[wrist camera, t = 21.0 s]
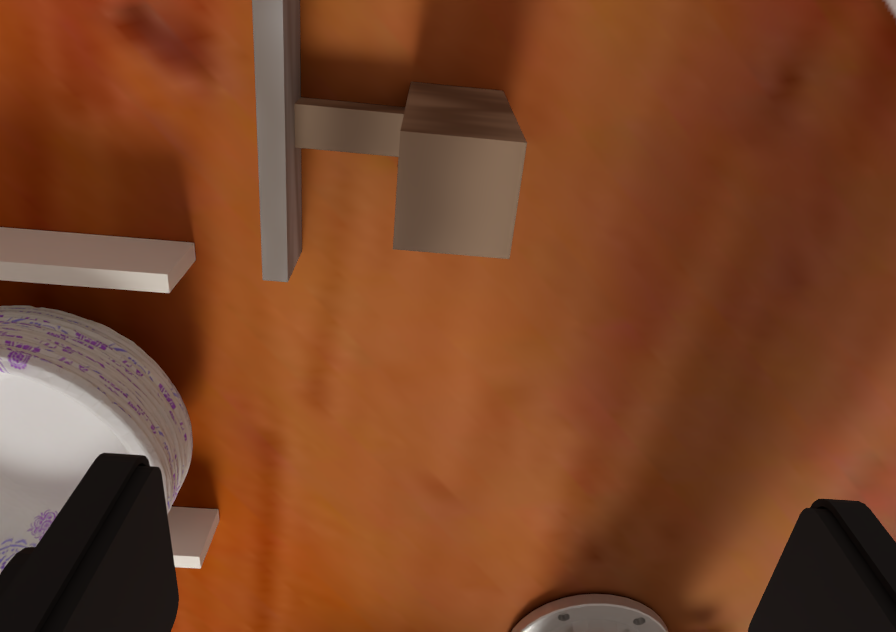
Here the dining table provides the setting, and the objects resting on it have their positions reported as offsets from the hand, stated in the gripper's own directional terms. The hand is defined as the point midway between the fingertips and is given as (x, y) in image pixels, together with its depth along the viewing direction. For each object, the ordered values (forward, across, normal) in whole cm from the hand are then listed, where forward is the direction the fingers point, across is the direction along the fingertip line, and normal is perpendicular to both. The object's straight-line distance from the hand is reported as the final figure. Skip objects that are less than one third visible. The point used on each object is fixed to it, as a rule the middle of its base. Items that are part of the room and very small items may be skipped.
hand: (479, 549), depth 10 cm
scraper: (+26, +3, 0) cm, 26 cm away
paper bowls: (+27, +20, +17) cm, 38 cm away
